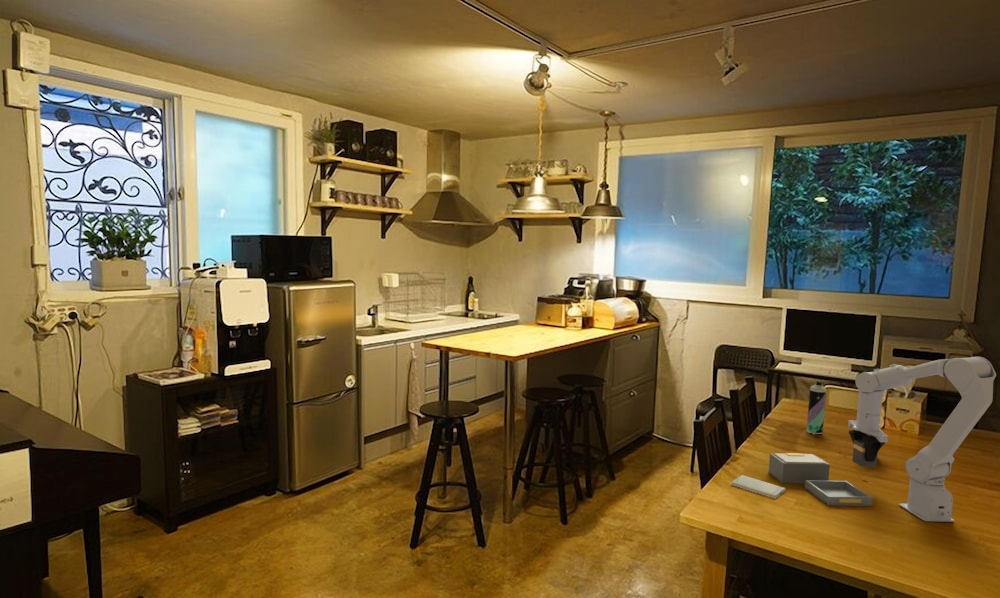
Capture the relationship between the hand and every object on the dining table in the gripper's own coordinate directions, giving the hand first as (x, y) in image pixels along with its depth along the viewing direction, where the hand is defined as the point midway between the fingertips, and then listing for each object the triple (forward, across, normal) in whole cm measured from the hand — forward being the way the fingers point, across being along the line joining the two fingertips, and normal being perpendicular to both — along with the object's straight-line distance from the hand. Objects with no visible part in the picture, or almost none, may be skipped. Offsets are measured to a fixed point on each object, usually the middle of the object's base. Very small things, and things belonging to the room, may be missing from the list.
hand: (864, 458), depth 168 cm
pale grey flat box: (+9, -6, -16) cm, 19 cm away
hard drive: (+10, +2, -32) cm, 33 cm away
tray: (+9, +7, -12) cm, 16 cm away
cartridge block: (+2, 0, 0) cm, 2 cm away
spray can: (+9, -52, +16) cm, 55 cm away
